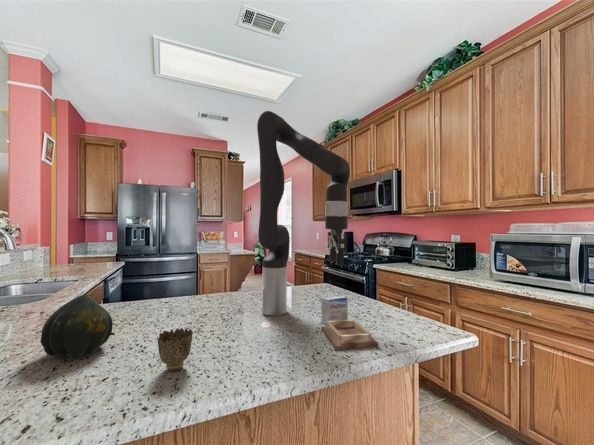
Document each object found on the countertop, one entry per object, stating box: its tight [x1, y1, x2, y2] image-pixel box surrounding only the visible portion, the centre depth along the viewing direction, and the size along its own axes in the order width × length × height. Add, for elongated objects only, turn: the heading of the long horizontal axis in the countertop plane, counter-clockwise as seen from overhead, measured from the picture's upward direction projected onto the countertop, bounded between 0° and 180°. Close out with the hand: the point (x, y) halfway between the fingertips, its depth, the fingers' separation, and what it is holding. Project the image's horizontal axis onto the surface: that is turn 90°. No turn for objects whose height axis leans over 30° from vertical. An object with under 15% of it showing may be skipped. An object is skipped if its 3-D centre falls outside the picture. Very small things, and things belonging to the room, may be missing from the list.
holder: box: [320, 319, 379, 351], centre depth 83 cm, size 12×15×3 cm
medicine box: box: [320, 294, 349, 326], centre depth 96 cm, size 8×4×9 cm, turn 118°
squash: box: [40, 294, 114, 360], centre depth 73 cm, size 14×15×15 cm
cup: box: [156, 327, 194, 372], centre depth 65 cm, size 8×7×8 cm
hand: (336, 263), depth 96 cm, fingers open, 8 cm apart
